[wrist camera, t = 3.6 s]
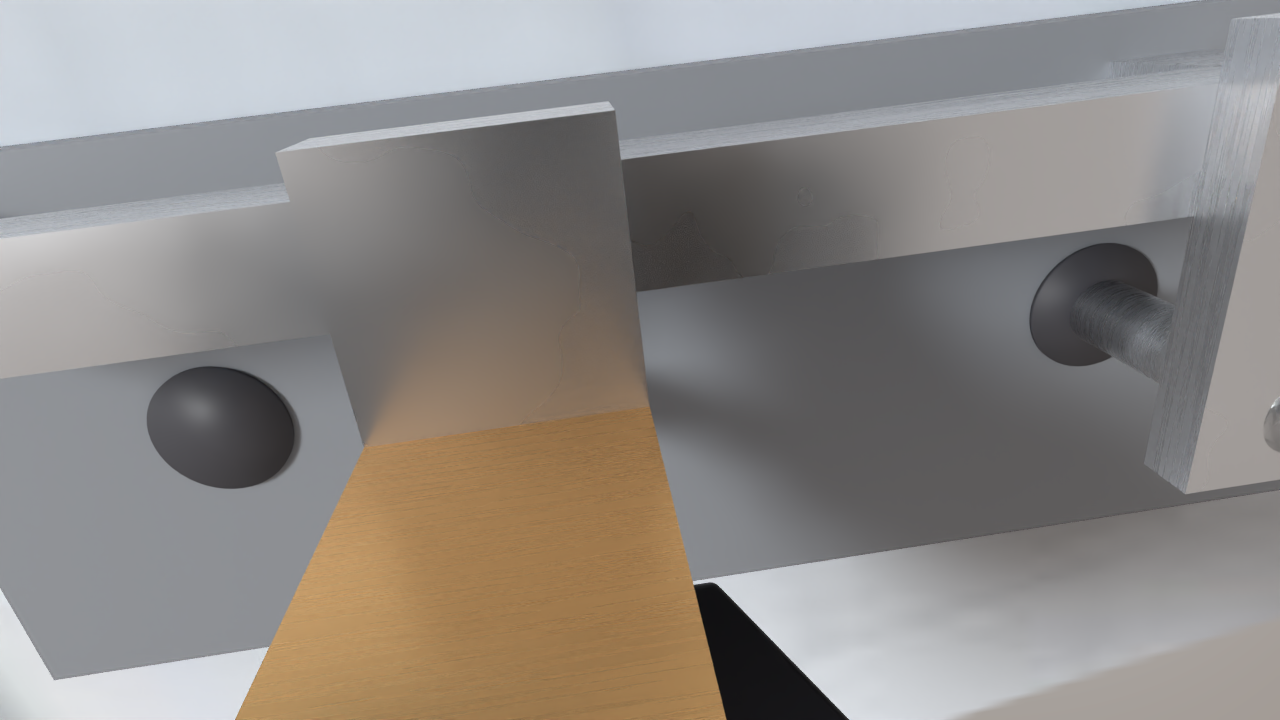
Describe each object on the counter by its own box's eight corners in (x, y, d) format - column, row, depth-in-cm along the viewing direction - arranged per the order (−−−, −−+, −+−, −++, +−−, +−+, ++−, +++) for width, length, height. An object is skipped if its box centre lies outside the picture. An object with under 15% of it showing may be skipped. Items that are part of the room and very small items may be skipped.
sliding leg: (592, 80, 11) (684, 200, 3) (643, 478, 14) (758, 1086, 6) (389, 105, 11) (-89, 302, 3) (482, 502, 14) (374, 1160, 6)
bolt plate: (1356, -19, 13) (1435, -24, 12) (1234, 461, 17) (1284, 492, 16) (-166, 166, 12) (-246, 180, 11) (88, 636, 16) (51, 684, 15)
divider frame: (1224, 1, 12) (1560, -16, 8) (1158, 343, 14) (1390, 462, 10) (-189, 174, 11) (-621, 254, 7) (-2, 511, 13) (-242, 714, 9)
